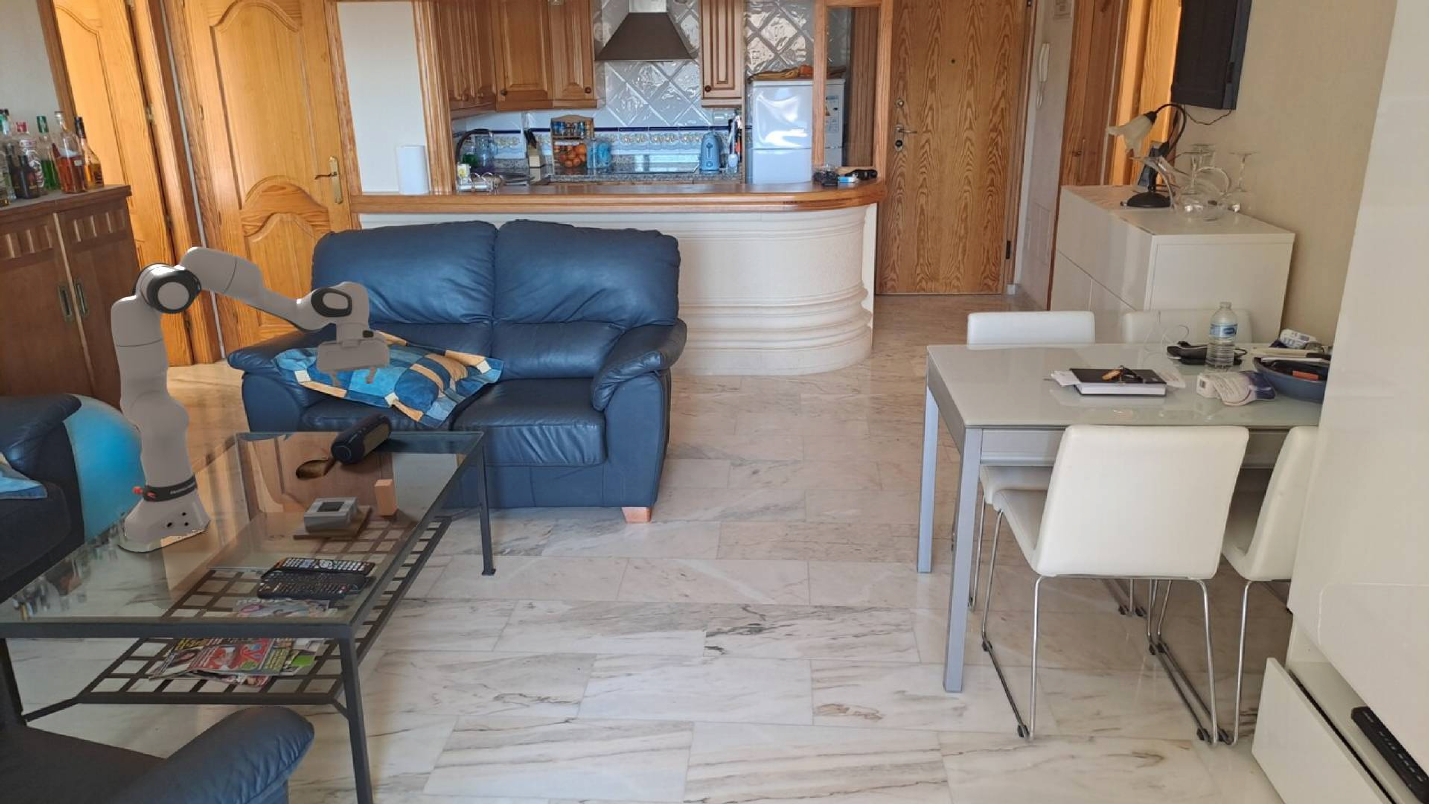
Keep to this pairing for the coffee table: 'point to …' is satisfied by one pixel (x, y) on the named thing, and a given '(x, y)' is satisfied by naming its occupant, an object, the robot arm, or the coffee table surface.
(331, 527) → the well
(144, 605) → the coffee table surface
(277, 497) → the coffee table surface
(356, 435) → the portable speaker
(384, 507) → the post
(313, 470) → the sunglasses case
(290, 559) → the coffee table surface
